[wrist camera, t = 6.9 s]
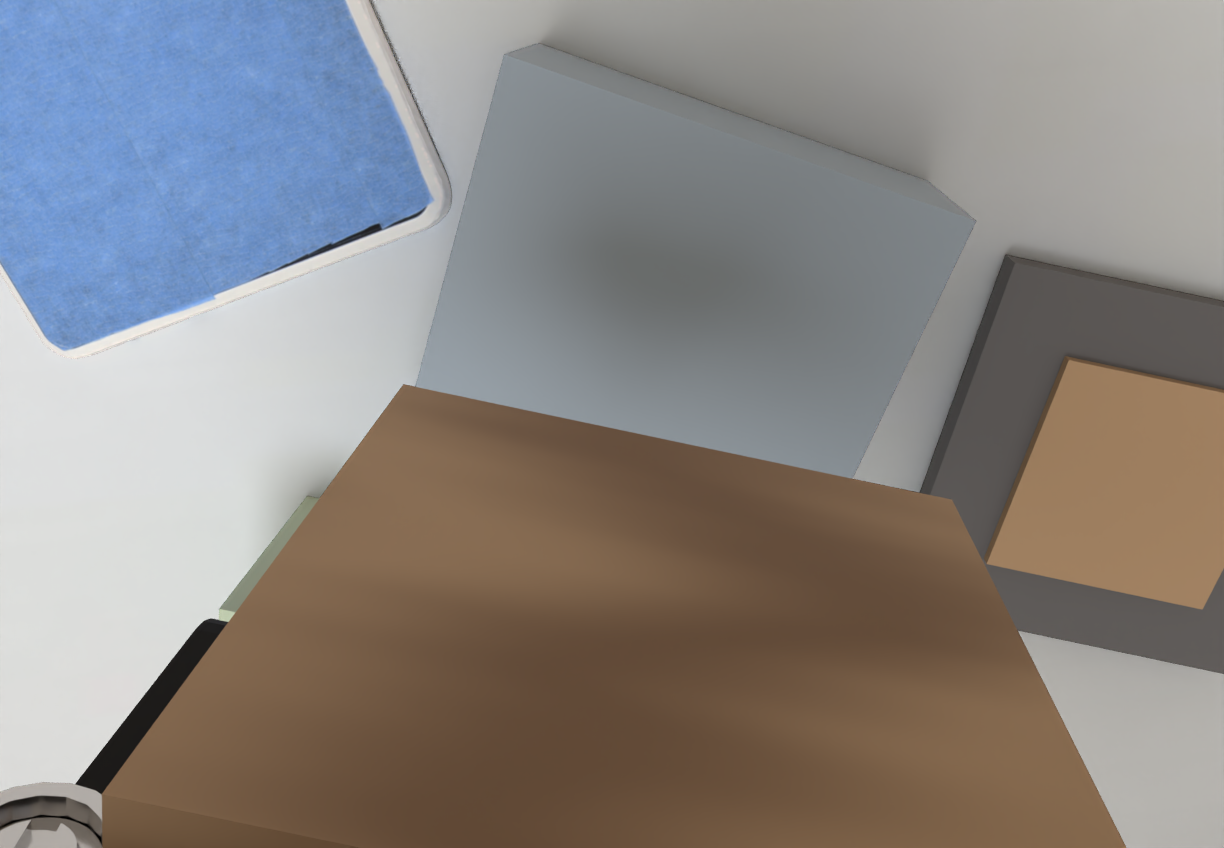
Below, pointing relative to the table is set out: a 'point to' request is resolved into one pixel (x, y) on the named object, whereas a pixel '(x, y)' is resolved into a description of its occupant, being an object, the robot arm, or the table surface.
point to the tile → (1095, 461)
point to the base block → (684, 270)
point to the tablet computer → (196, 156)
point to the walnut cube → (608, 663)
